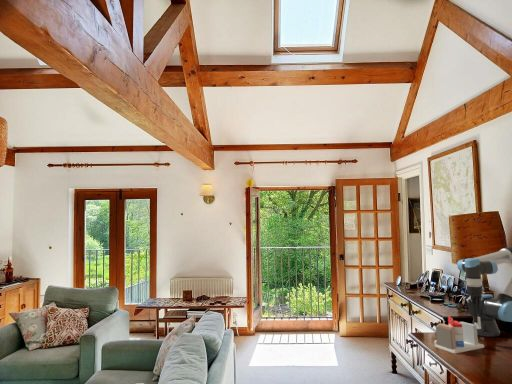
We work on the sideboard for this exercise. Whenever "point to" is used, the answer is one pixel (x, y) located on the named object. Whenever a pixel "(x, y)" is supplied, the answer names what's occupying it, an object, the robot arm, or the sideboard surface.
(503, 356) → the sideboard surface
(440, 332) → the rack
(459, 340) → the ink box
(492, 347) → the sideboard surface
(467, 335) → the bookend
